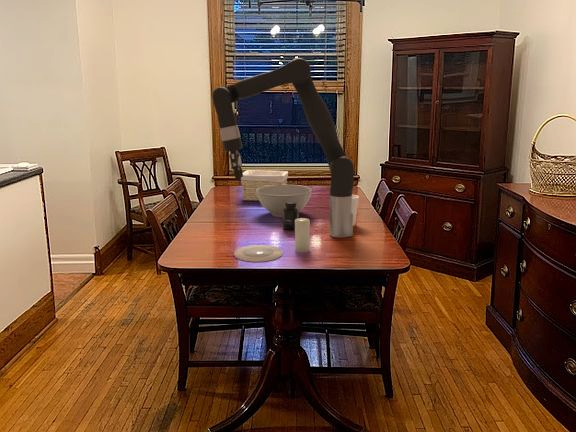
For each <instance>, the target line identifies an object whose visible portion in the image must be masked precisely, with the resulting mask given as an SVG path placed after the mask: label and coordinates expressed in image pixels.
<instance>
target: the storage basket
mask: <svg viewBox="0 0 576 432" xmlns="http://www.w3.org/2000/svg"><path fill="white" fill-rule="evenodd" d="M288 176H289V172H288V170H287V171H286V170H268V169H267V170H265V169H264V170H263V169H262V170H261V169H247V170H245V171H243V177H241V179H240V180H241V181H240V182H241V187H242V188H241V190H242V200H243V201H255V202H257V201H259V199H258V197H257V194H256V190H257V189H258V188H260V187H264V186H270V185H288V184H287V183H288V181H287V180H288ZM259 202H260V201H259Z"/></svg>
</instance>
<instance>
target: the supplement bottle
mask: <svg viewBox="0 0 576 432" xmlns="http://www.w3.org/2000/svg"><path fill="white" fill-rule="evenodd" d="M285 207H286V208H284V209H283V217H282V229H283V230H284V231H290V232H293V231H294V232H295V219H298V218H299V212H300V211H298V209H297V208H296V202H294V201H287V202H285Z"/></svg>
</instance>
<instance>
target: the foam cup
mask: <svg viewBox="0 0 576 432" xmlns="http://www.w3.org/2000/svg"><path fill="white" fill-rule="evenodd" d="M359 203H360V196H359V195H356V194H352V214H353V227H354V226H355V225H356V220H357V213H358V206H359Z"/></svg>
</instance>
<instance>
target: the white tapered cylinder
mask: <svg viewBox="0 0 576 432" xmlns="http://www.w3.org/2000/svg"><path fill="white" fill-rule="evenodd" d="M310 222H311V221H310V219H309V218H305V217H300V218H299V217H298V219H295V230H294V250H295V252H297V253H308V252H310V251H311V248H310V247H311V244H310V243H311V238H310V236H311V233H310V232H311V230H310V229H311V225H310V224H311V223H310Z"/></svg>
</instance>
